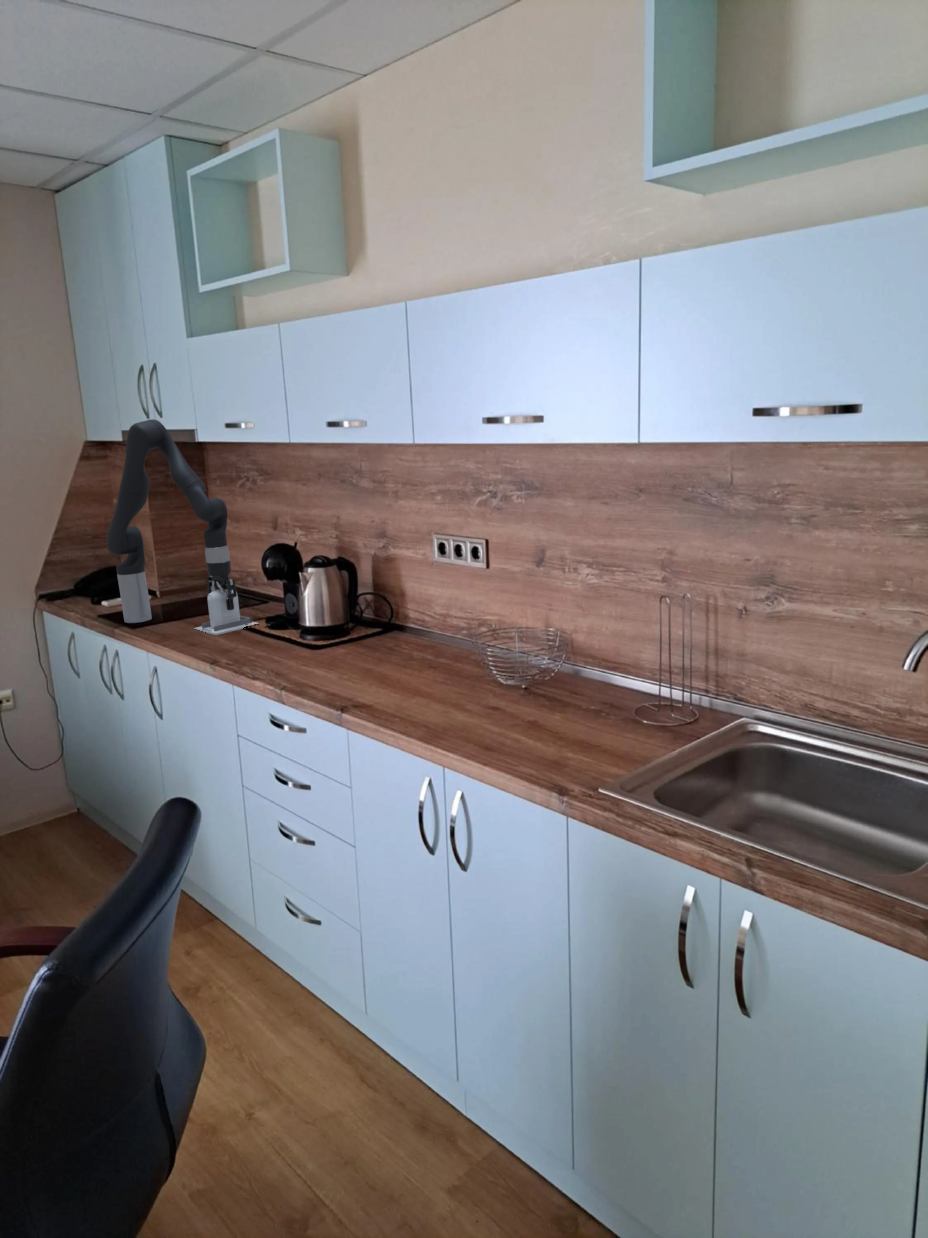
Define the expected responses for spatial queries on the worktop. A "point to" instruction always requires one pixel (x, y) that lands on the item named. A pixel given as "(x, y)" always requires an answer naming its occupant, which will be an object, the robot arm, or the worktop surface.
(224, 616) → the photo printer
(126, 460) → the robot arm
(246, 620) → the dock
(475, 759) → the worktop surface
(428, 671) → the worktop surface
